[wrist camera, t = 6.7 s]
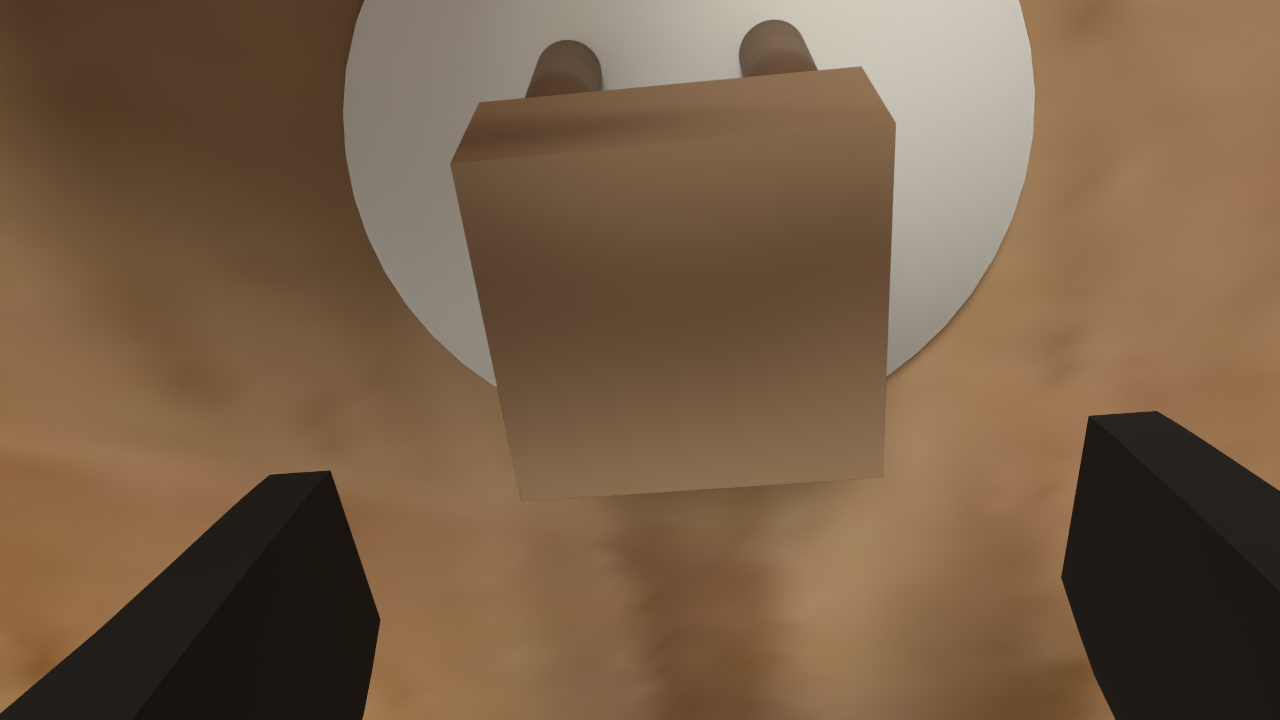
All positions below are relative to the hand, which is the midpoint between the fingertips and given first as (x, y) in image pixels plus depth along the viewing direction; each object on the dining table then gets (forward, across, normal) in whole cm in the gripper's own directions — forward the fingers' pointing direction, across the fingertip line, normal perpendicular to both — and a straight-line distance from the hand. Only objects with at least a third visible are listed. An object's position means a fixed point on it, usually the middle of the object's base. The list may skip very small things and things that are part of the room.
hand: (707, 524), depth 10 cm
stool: (+9, 0, 0) cm, 9 cm away
